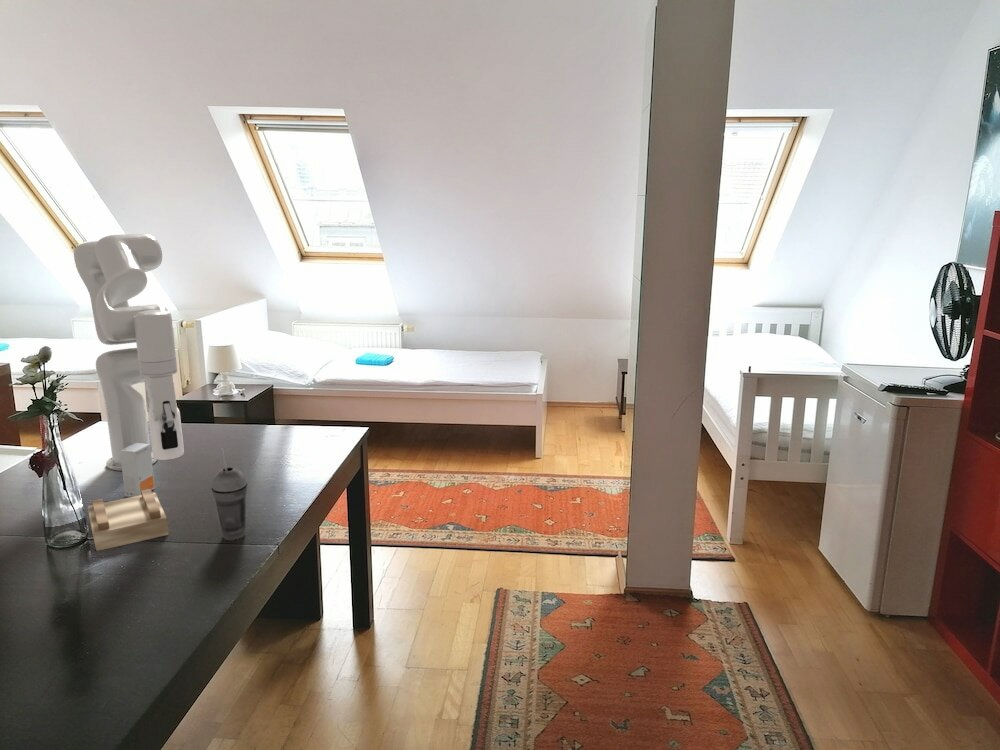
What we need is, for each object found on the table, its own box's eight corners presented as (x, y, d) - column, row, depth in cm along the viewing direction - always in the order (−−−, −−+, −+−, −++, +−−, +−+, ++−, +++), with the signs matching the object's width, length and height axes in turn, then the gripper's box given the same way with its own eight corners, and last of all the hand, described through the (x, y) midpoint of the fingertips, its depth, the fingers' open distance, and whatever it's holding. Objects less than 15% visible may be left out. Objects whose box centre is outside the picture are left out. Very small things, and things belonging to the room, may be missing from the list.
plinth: (89, 522, 166) (86, 499, 164) (157, 508, 173) (154, 486, 172) (96, 551, 153) (92, 527, 151) (168, 534, 160) (165, 511, 159)
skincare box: (140, 498, 178) (134, 452, 175) (124, 496, 179) (118, 450, 176) (156, 488, 184) (150, 443, 181) (141, 487, 185) (135, 442, 182)
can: (154, 463, 162) (148, 411, 159) (152, 453, 168) (145, 403, 165) (185, 458, 165) (180, 407, 162) (182, 449, 171) (177, 400, 168)
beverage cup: (231, 546, 155) (222, 457, 150) (209, 537, 159) (200, 451, 154) (258, 533, 161) (251, 447, 156) (236, 525, 165) (229, 441, 160)
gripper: (133, 361, 166) (142, 435, 171) (146, 377, 152) (156, 458, 157) (168, 356, 170) (176, 430, 175) (185, 372, 156) (193, 451, 161)
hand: (167, 442), depth 166 cm, fingers closed on can, 6 cm apart
